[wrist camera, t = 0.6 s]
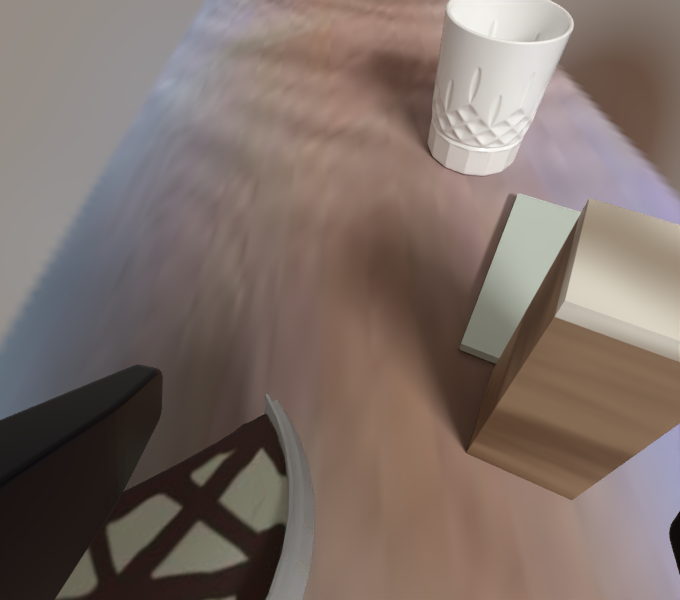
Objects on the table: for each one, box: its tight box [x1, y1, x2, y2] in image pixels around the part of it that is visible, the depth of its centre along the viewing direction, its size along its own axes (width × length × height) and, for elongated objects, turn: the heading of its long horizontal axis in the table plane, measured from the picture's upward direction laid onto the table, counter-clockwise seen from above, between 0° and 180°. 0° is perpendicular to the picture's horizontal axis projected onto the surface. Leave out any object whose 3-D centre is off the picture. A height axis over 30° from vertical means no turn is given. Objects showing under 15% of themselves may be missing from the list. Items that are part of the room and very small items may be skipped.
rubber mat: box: [459, 193, 581, 364], centre depth 30 cm, size 14×9×1 cm, turn 154°
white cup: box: [428, 0, 574, 176], centre depth 35 cm, size 8×8×10 cm
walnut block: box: [466, 198, 680, 500], centre depth 20 cm, size 5×5×12 cm
